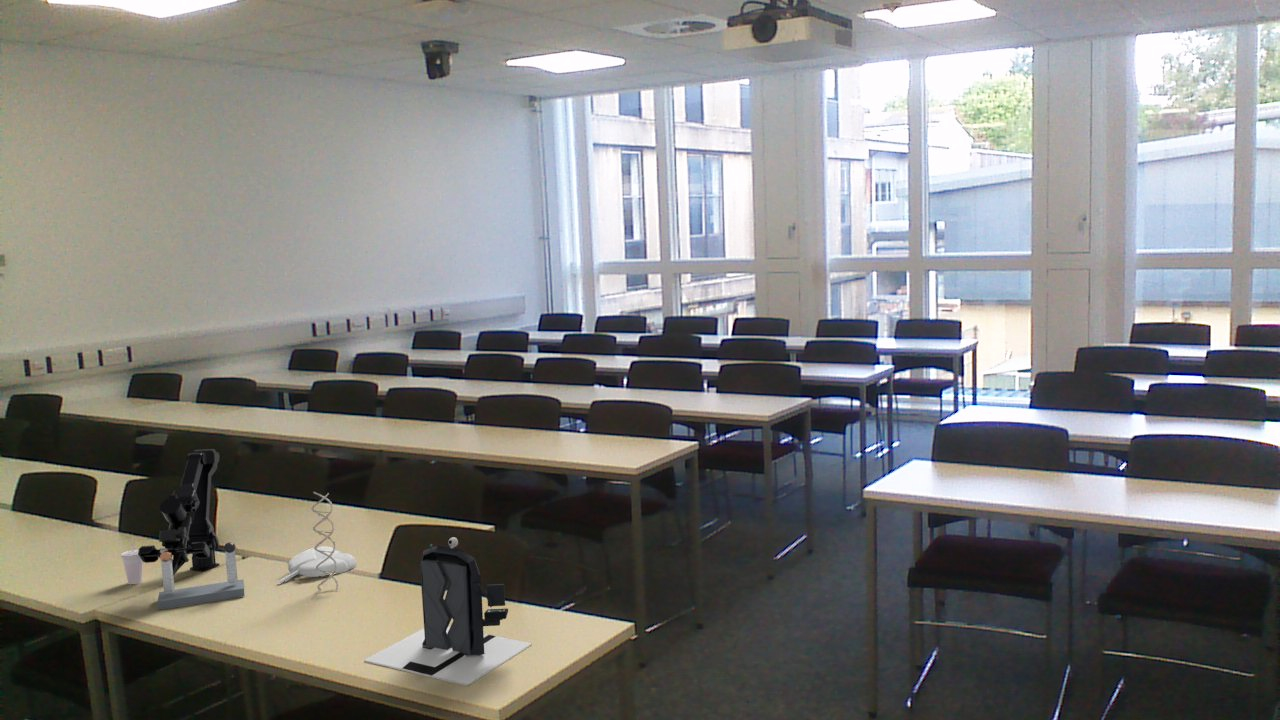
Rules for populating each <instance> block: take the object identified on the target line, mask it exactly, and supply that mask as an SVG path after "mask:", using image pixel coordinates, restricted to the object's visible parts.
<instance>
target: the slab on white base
mask: <svg viewBox="0 0 1280 720" xmlns="http://www.w3.org/2000/svg"><path fill="white" fill-rule="evenodd" d="M447 544H448V546H449V547H446V546H445V547H444V546H438V545H436V546H433V544H432V543H431V544H429V547H430V548H427V549H424V550H423V552H422V558H421V561H420V566H419V567H420V582H421V585H420V587H421V600H422V617H423V628H422V629H420V630H417V631H416V632H414V633H412V634H410V635H408V636H406V637H405V638H403V639H401V640H399V641H398V642H395V643H393V644H391V645H390V646H388V647H386V648H384V649H382V650H380V651H378V652H376V653H374V654H373V655H370V656H369V657H367V658H365V659H364V663H368V664H373V665H378V666H382V667H385V668H389V669H390V668H391V669H395V670H399V671H403V672H408V673H411V674H416V675H420V676H424V677H429V678H432V679H437V680H441V681H445V682H450V683H454V684H458V685H462V686H466V687H468V686H470V685H472V684H473V683H475V682H476V681H477V680H480V679H481V678H482V677H484V676H486V675H487V674H489V673H490V672H492V671H493V670H495V669H497V668H498V667H499V666H501V665H503V664H504V663H506V662H507V661H509V660H510V659H512V658H514V657H516V656H517V655H518V654H520V653H521V652H523V651H525V650H526V649H528V648H529V647H532V643H531V642H526V641H523V640H517V639H512V638H506V637H502V636H497V635H493V634H487V633H484V627H493V626H495V627H497V626H498V627H499V626H501V621H503V620H506V619H507V616H508V613H509V608H492V607H505V606H506V594H505V583H498V584H497V583H495V584H486V591H485V590H484V588H483V587H482V576H481V573H480V570H479V567H478V565H477V561H476V558H475V557H474V556H472V555H471V554H469V553H467V552H466V551H464V550H463V549H459V548H457V546H458V545H459V540H458V539H457V537H454V536H453V537H450V538H449V540H448V542H447ZM455 547H456V548H455ZM443 562H444V563H443ZM444 596H445V598H444ZM483 596H484V597H485V598H486V600H487V607H489V609H488V608H487V609H486V610H485V611H484V613H483ZM490 608H491V609H490ZM483 617H484V618H483ZM452 620H453V621H452ZM451 621H452V622H451ZM450 624H451V625H450ZM449 625H450V626H449Z"/></svg>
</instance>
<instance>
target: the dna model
mask: <svg viewBox="0 0 1280 720" xmlns="http://www.w3.org/2000/svg"><path fill="white" fill-rule="evenodd" d="M312 492H313V494H314V495H317V496H318V497H320V498H321V499H320V500H318V501H317V502H316V503H314V504H313V505H312V507H311V511H312V513H315V514H317V515H318V516H320V517H323V518H322V519H321V520H319V522H317V523H316V524H315V525H314V526H313V527H312V530H313V531H314V532H315V533H317V534H318V535H319V536H321V535H322V536H324V538H323V539H322V540H320V541H319V542H318V543H316V545H315V546H314V547H313V549H315V550H316V551H318V552H320V553H321V554H324V555H326V556H328V557H327V558H326V559H324V560H323V561H322V562H320V563H319V564H318V565H317V566H316V569H317V570H318V571H320V572H323V573H325V574H327V575H329V576H327V578H326V579H324V580H323V581H321V582H320V583H319V584H317V586H316V587H317V589H318V590H319V589H321V590H322V588H321V586H322V585H323V584H325V583H326V582H327V581H328V580H330V579H331V578H332V579H333V580H334V582H335V584H336V585H335V586H336V588H335V590H337V591H338V589H339V581H338V579H337V578H336V577H335V575H333V574H334V573H335V571H336V569H337V564H336V561H335V559H334V558H333V557H331V555H332V554H333V553H334V551H335V549H336V541H335V540H334V539H332V537H330V536H332V535H333V533H334V531H335V524H334V522H333V521H332V520H331V519H330V518H329V516H330V515H331V514H332V513H333V508H334V507H333V503H332V501H331V500H330V499H329V498H327V497H328V496H329V495H330V493H329V492H327V494H326V495H322V494H321V493H318V492H316V491H312ZM324 500H326V501H327V503H329V505H330V509H329V511H319V510H315V507H316V506H317V505H320V503H321V502H322V501H324ZM324 514H326V515H324ZM326 520H327V521H329V523H330V524H331V526H332V527H331V530H330V531H324V530H323V531H322V530H317V529H316V527H318V526H319V525H320V524H321V523H323V522H325V521H326ZM325 533H327V534H328V535H326V534H325ZM327 539H329V540H330V541H331V542H332V544H333V547H332V548H333V551H332V552H330V553H331V554H330V555H328V554H326V553H324V552H326V551H320V550H318V549H317V548H318V547H320V545H321V544H322V543H324V542H325V541H326V540H327ZM327 552H329V551H327ZM328 558H331V559H332V560H333V561H334V563H335V568H334V571H333V572H332V571H328V572H332V574H331V575H330V574H328V573H327V572H326V571H324V570H320V569H319V568H318V566H319V565H321V564H322V563H324V562H325V561H326V560H327V559H328Z"/></svg>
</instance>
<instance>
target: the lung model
mask: <svg viewBox="0 0 1280 720" xmlns="http://www.w3.org/2000/svg"><path fill="white" fill-rule="evenodd" d="M333 548H334V547H332V546H331V547H330V546H326V545H325V546H323V545H322V546H317V549H318V550H320V551H326V552H324V553H326V554H328V555H330V554H331V553H330V552H332V551H333ZM327 551H329V552H327ZM327 557H328V556H326V555H324V554H321V553H320V552H318V551H316V550H315V549H314V547H310V548H308V549H306V550H304V551H301V552H299V553H298V554H296V555H295V556H293V557H292V558H291V559H289V561H288V564H287V567H288V568H287V569H288V571H289V574H287V575H285V576H283V577H282V578H281V579H279V580H278V581H277V582H279V583H282V582H284V581H285V582H287V581H289V580H291V579H292V578H294V577H295V576H298V575H300V576H303V577H309V578H318V577H319V576H321V577H325V576H324V575H327V574H325V573H323V572H320V571H318V570H317V569H316V566H317V565H318V564H319V563H320V562H322V561H323V560H324V559H326V558H327ZM331 557H333V558H334V559H335V561H336V564H337V569H336V571H335V573H339V574H342V573H345V572H348V571H350V570H352V569H354V568H355V567H356V566H358V565H357V561H356V557H354V556H353V555H352V554H351V553H346V552H341V551H339V550H337V549H336V548H335V551H334V553H333V554H332V555H331ZM318 568H319V569H320V570H324V571H326V572H327V573H328V574H331V573H332V572H333V571H334V568H335V563H334V561H333V560H332V559H331V558H328V559H327V560H326V561H325V562H324V563H322V564H321V565H319V566H318ZM328 571H332V572H328ZM285 582H284V583H285ZM282 584H283V583H282Z"/></svg>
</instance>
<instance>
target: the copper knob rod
mask: <svg viewBox="0 0 1280 720" xmlns="http://www.w3.org/2000/svg"><path fill="white" fill-rule="evenodd" d="M159 559H160V565H161V576H162V587H163V591H164V593H171V592H174V591H175V590H176V589H175V580H174V579H175V578H174V576H173V568H172V559H173V555H172V554H171V552H169V551H164V552H162V553H161V555H160V558H159Z"/></svg>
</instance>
